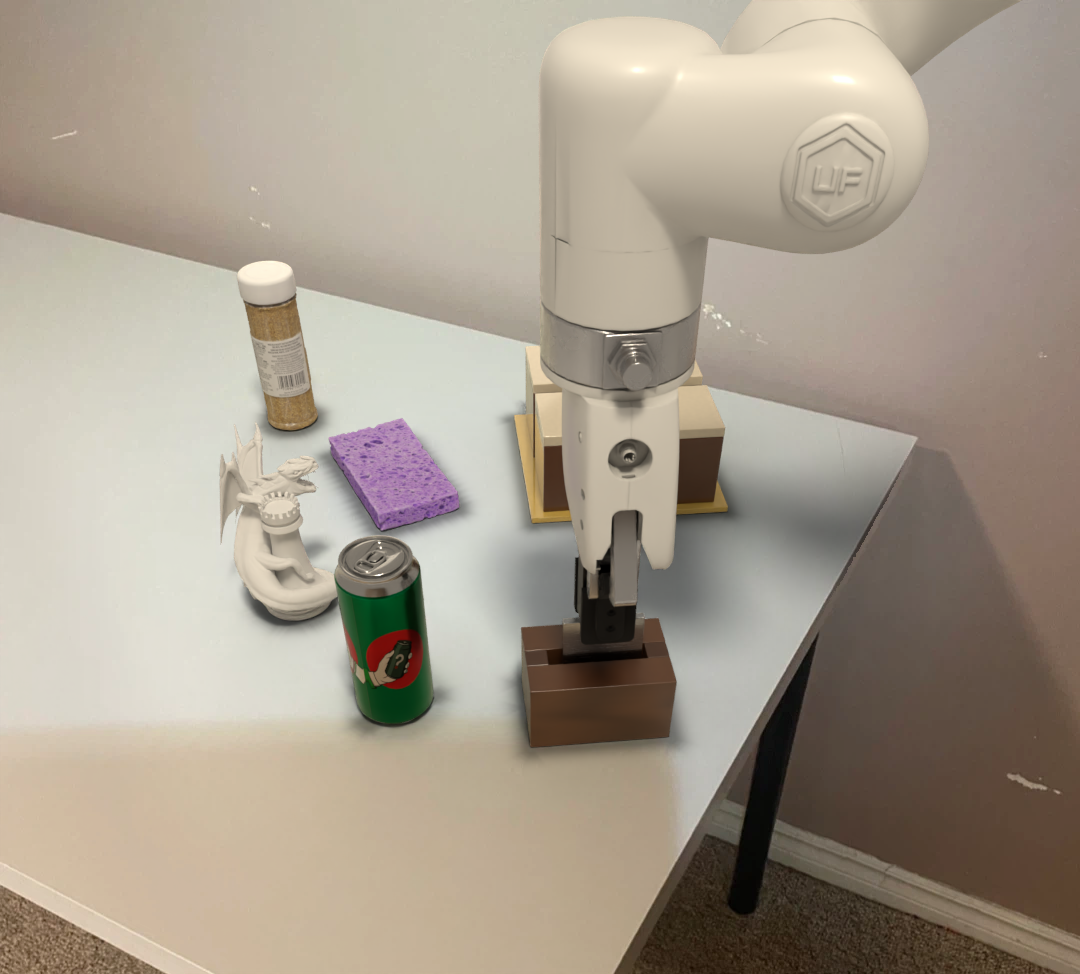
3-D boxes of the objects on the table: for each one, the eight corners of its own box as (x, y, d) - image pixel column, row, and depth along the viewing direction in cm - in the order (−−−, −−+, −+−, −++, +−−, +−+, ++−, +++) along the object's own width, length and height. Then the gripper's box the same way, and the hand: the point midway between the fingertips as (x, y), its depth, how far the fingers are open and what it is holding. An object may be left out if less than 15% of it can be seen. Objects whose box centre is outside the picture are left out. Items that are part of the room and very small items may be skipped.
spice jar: (316, 404, 94) (291, 256, 84) (320, 429, 91) (294, 279, 81) (266, 409, 93) (234, 260, 84) (268, 435, 90) (236, 284, 81)
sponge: (405, 436, 90) (403, 417, 89) (461, 510, 83) (460, 491, 81) (329, 455, 88) (326, 435, 87) (380, 533, 80) (377, 513, 79)
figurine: (355, 617, 73) (331, 473, 65) (249, 644, 71) (209, 500, 63) (320, 534, 80) (294, 394, 72) (222, 556, 78) (182, 415, 70)
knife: (634, 690, 68) (647, 537, 59) (639, 712, 66) (653, 558, 57) (559, 696, 67) (561, 543, 58) (563, 718, 66) (565, 564, 57)
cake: (687, 410, 94) (696, 334, 88) (727, 511, 83) (740, 431, 77) (514, 419, 92) (512, 342, 87) (531, 523, 81) (531, 442, 76)
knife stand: (652, 672, 70) (658, 617, 66) (669, 737, 66) (677, 681, 62) (521, 682, 69) (521, 626, 65) (530, 747, 65) (530, 692, 61)
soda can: (448, 692, 68) (436, 547, 60) (404, 740, 65) (384, 595, 57) (387, 665, 70) (366, 521, 61) (342, 711, 67) (313, 566, 58)
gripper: (735, 415, 43) (691, 713, 57) (664, 261, 54) (641, 542, 68) (560, 426, 43) (557, 724, 56) (524, 268, 54) (529, 550, 67)
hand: (603, 623), depth 62 cm, fingers closed on knife, 2 cm apart
